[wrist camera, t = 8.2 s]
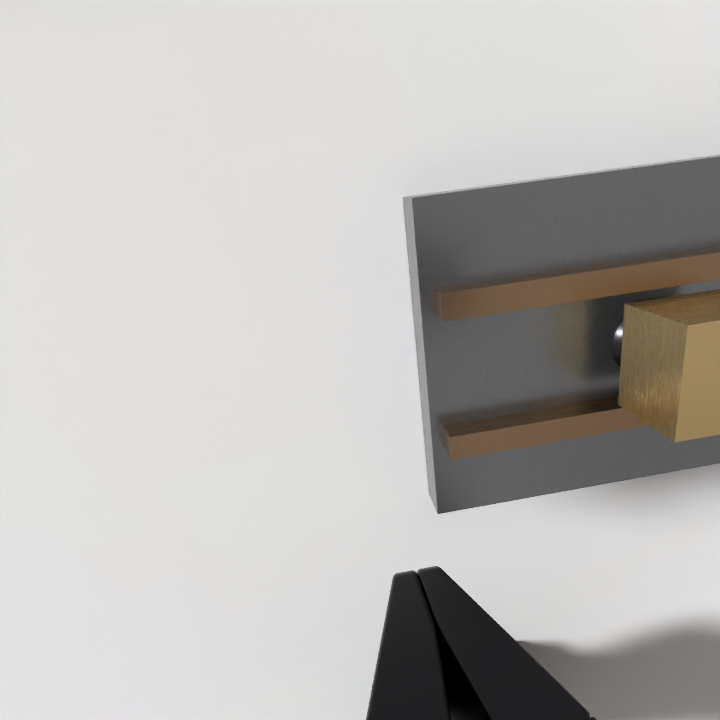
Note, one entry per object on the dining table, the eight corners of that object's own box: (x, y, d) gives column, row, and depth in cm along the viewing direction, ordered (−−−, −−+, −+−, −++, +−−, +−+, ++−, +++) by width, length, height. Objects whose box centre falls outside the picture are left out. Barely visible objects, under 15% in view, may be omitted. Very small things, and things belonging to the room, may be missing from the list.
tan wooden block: (699, 380, 20) (787, 422, 16) (605, 396, 19) (674, 442, 16) (711, 283, 18) (811, 305, 15) (611, 299, 18) (687, 325, 14)
